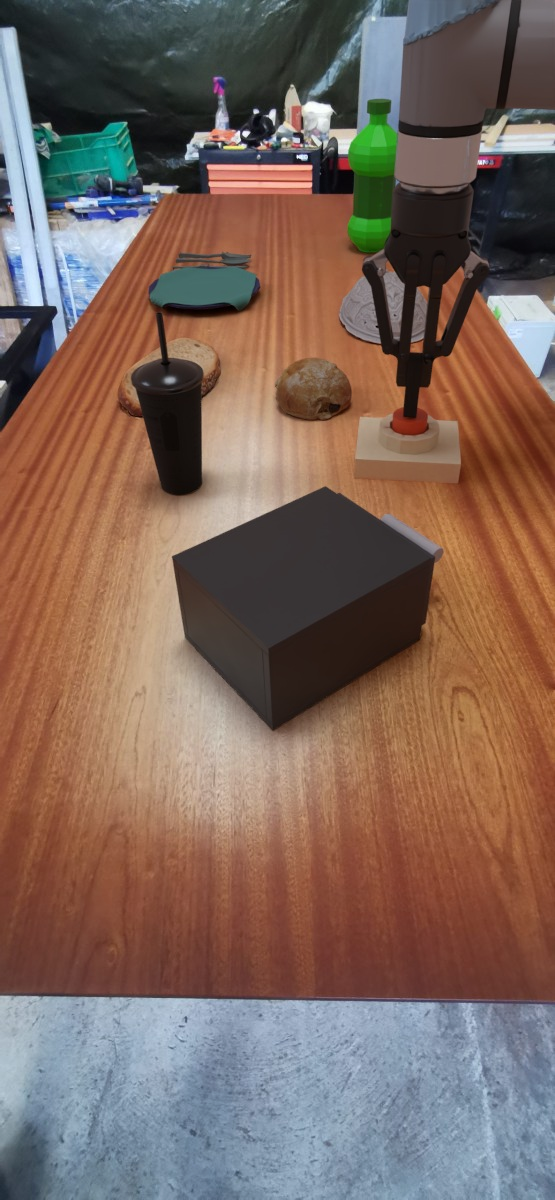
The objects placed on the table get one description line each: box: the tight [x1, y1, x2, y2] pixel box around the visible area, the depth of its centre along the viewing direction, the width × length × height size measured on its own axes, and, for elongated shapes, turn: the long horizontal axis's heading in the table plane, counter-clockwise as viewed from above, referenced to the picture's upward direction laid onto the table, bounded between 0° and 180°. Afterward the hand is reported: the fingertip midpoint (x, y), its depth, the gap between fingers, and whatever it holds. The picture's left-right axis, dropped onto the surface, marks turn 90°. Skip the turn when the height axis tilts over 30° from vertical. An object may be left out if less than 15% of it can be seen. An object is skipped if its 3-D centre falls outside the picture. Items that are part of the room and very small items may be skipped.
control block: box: [353, 413, 462, 484], centre depth 88 cm, size 12×10×4 cm
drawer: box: [336, 492, 445, 626], centre depth 66 cm, size 20×12×8 cm, turn 127°
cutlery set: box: [147, 251, 261, 312], centre depth 135 cm, size 20×30×2 cm, turn 176°
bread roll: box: [274, 357, 353, 421], centre depth 99 cm, size 10×10×8 cm
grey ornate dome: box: [338, 268, 428, 345], centre depth 121 cm, size 16×25×7 cm, turn 178°
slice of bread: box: [116, 337, 222, 417], centre depth 105 cm, size 18×18×4 cm
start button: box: [392, 406, 429, 436], centre depth 86 cm, size 4×4×2 cm
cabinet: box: [171, 486, 432, 731], centre depth 64 cm, size 17×14×10 cm
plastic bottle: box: [347, 98, 397, 254], centre depth 140 cm, size 10×10×25 cm
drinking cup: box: [131, 311, 204, 496], centre depth 80 cm, size 8×8×20 cm
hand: (409, 411), depth 85 cm, fingers closed
